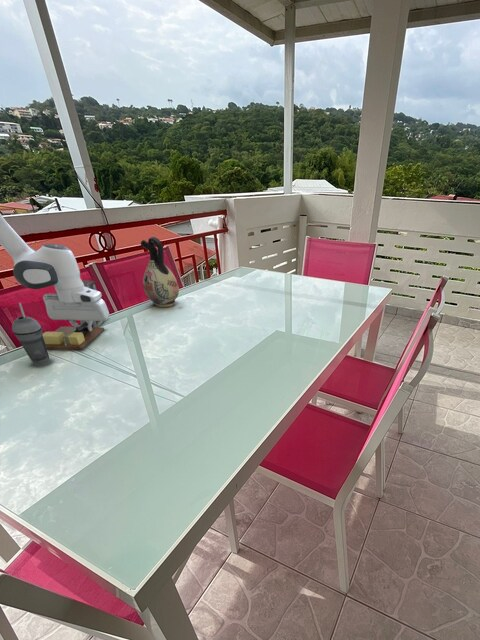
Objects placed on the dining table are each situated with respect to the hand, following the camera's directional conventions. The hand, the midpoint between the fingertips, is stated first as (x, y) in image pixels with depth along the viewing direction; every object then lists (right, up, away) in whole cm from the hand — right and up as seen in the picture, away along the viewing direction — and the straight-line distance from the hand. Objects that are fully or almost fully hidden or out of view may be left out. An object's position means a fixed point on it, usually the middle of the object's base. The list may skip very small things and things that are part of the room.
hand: (84, 330), depth 125 cm
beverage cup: (-2, -14, -17) cm, 23 cm away
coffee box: (-3, +5, +11) cm, 13 cm away
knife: (0, -3, -3) cm, 4 cm away
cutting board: (-3, -4, -2) cm, 5 cm away
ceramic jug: (+17, +19, +34) cm, 42 cm away
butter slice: (+2, -6, -6) cm, 9 cm away
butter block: (-6, -5, -7) cm, 11 cm away
